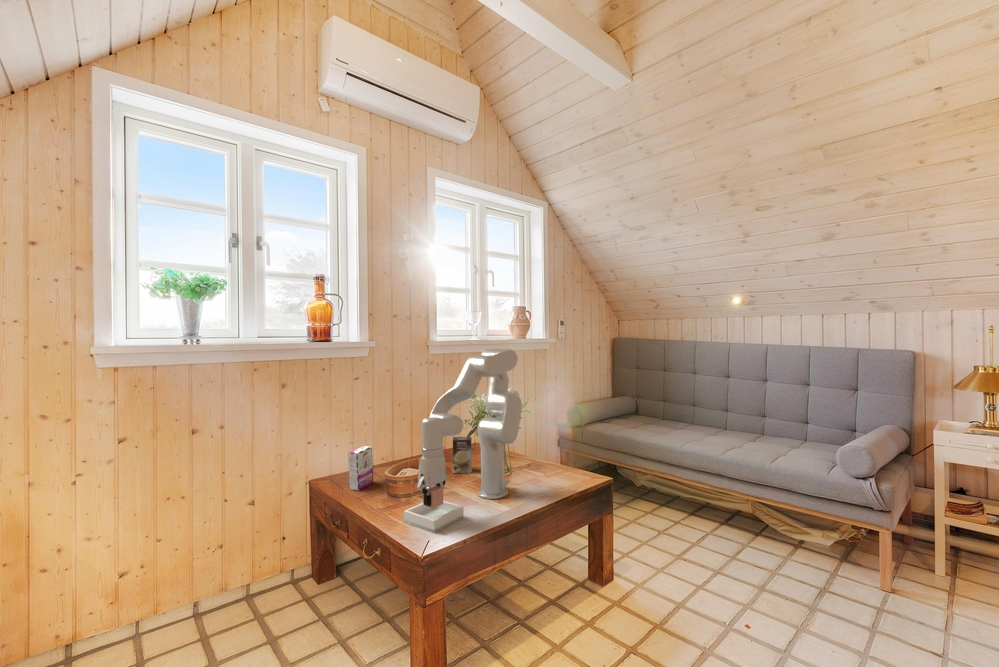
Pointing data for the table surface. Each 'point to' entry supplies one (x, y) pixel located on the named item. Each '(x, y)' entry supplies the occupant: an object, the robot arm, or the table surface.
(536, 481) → the table surface
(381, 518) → the table surface
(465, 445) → the coffee box
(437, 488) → the pink block
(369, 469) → the candy bar box
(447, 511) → the tray
